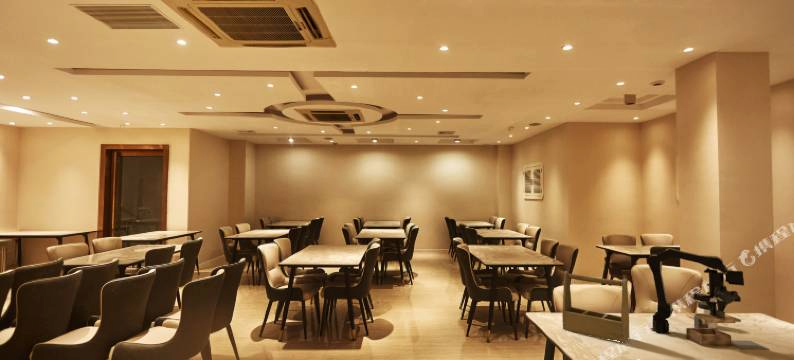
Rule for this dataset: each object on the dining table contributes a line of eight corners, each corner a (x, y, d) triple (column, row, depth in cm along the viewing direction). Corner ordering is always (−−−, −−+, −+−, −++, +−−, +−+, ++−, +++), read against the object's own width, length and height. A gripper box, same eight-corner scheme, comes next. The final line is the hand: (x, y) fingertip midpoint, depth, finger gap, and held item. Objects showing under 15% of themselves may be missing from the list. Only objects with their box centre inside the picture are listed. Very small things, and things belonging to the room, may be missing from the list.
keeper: (698, 335, 203) (698, 317, 203) (694, 333, 206) (694, 315, 206) (708, 335, 202) (708, 317, 203) (703, 333, 206) (703, 315, 206)
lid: (710, 323, 188) (710, 313, 188) (695, 317, 198) (695, 307, 198) (741, 324, 188) (740, 313, 188) (723, 317, 198) (723, 307, 198)
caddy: (562, 329, 210) (561, 272, 211) (569, 324, 218) (569, 269, 219) (624, 344, 190) (623, 280, 191) (629, 338, 198) (629, 277, 199)
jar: (713, 329, 212) (712, 306, 212) (695, 325, 218) (694, 303, 219) (719, 326, 216) (719, 304, 217) (702, 322, 223) (701, 300, 224)
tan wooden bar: (704, 324, 200) (704, 320, 200) (686, 316, 213) (685, 312, 213) (709, 324, 200) (709, 320, 200) (690, 316, 213) (690, 312, 213)
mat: (740, 349, 185) (740, 348, 185) (723, 341, 195) (723, 340, 195) (769, 349, 185) (769, 348, 185) (750, 341, 195) (750, 340, 195)
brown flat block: (701, 345, 189) (701, 335, 189) (686, 338, 199) (686, 327, 199) (731, 346, 189) (731, 335, 189) (714, 338, 198) (714, 328, 199)
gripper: (709, 286, 186) (710, 320, 185) (750, 286, 185) (751, 320, 185) (692, 281, 197) (693, 313, 196) (730, 281, 196) (731, 313, 196)
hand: (717, 315), depth 193 cm, fingers closed on lid, 3 cm apart
